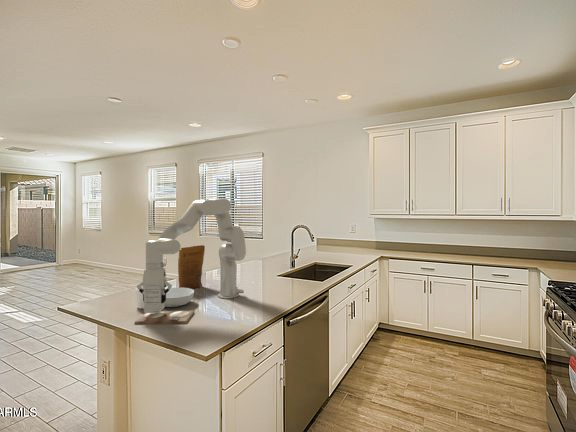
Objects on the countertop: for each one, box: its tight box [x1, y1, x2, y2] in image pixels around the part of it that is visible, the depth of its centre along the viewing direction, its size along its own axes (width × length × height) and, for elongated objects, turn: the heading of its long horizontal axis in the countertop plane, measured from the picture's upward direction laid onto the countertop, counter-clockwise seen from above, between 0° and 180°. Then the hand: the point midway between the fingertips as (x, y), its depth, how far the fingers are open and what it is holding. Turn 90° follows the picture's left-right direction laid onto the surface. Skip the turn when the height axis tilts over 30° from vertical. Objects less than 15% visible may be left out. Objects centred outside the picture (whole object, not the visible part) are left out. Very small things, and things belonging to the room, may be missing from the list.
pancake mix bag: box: [177, 244, 206, 290], centre depth 198 cm, size 7×19×28 cm, turn 133°
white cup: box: [135, 285, 144, 309], centre depth 161 cm, size 8×8×10 cm
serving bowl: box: [164, 287, 195, 308], centre depth 165 cm, size 21×21×7 cm
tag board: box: [134, 310, 195, 325], centre depth 144 cm, size 23×14×2 cm, turn 93°
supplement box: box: [143, 286, 166, 314], centre depth 145 cm, size 7×7×13 cm
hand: (154, 302), depth 145 cm, fingers closed on supplement box, 7 cm apart
